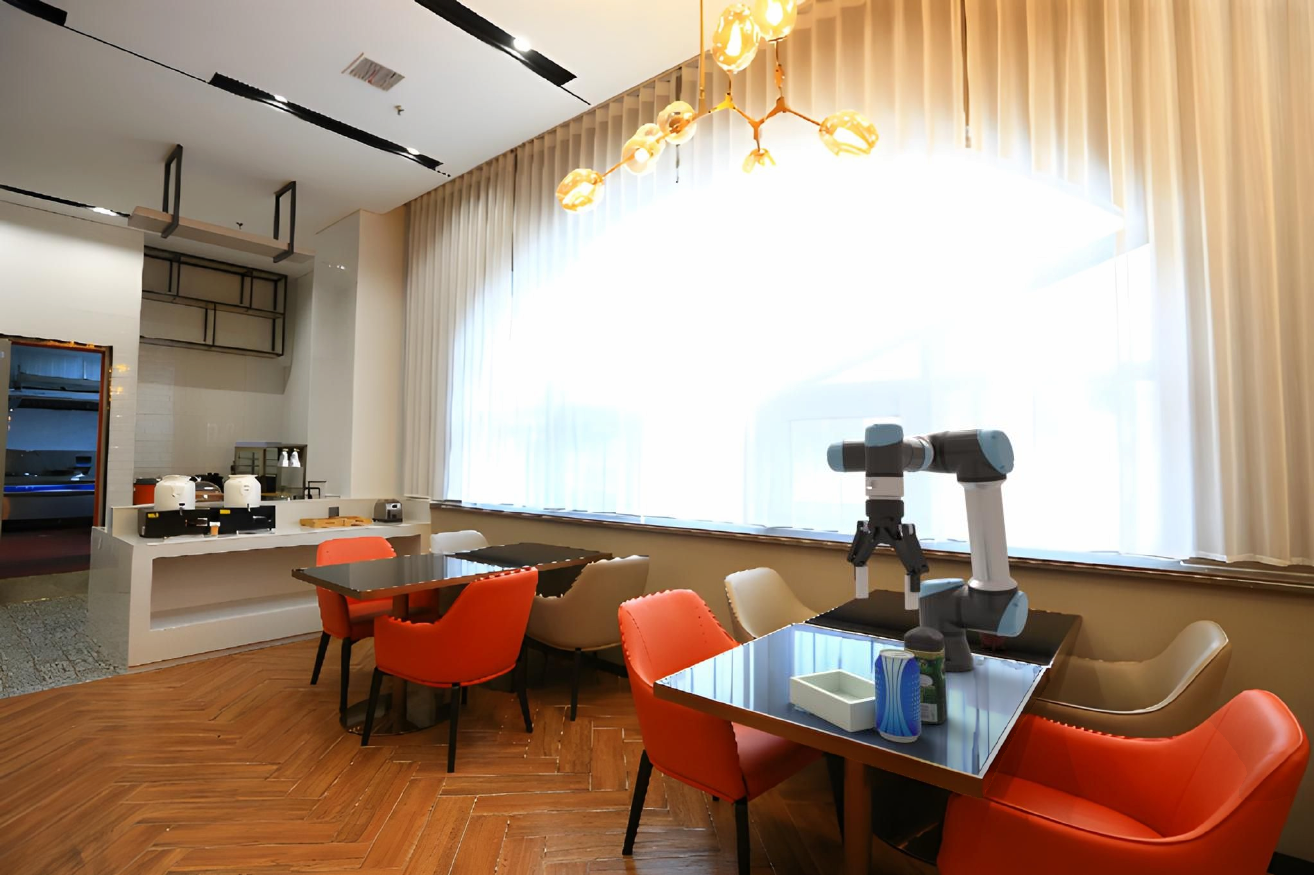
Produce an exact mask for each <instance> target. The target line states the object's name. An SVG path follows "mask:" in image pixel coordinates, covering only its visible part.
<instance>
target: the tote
mask: <svg viewBox="0 0 1314 875" xmlns="http://www.w3.org/2000/svg"><path fill="white" fill-rule="evenodd" d="M789 703H791V704H793V705H795V706H797V707H799V708H801V709H803V710H806V712H809V713H811V714H813V715H815V716H817V717H819V718H821V719H823V720H825V721H827V722H829V723H831V724H832V725H835V726H837V727H839V728H841V729H843V730H845V731H847V732H849V733H853V732H854V733H855V732H857V731H862V730H867V729H871V728H876V710H875V681H873V680H870V679H868V678H864V677H862V676H859V675H858V674H857V675H856V674H854V673H852V672H849V671H846V670H844V669H841V668H839V669H832V670H827V671H820V672H815V673H807V674H803V675H796V676H790V677H789Z"/></svg>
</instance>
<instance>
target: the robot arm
mask: <svg viewBox="0 0 1314 875" xmlns="http://www.w3.org/2000/svg"><path fill="white" fill-rule="evenodd" d="M903 429H904V428H903V425H901V424H900V423H894V422H893V423H891V422H884V423H883V422H881V423H879V422H878V423H871V424H868V425H867V426H866V427H865V431H864V438H863V439H860V438H859V439H846V440H845V439H841V440H836V441H832V442H831V443H830V444H829V445H828V447H827V450H826V462H827V464H828V467H829V468H830V469H831V470H832V471H833V472H834V473H835V472H836V473H863V472H865V474H864V475H865V476H864V477H865V479H864V480H865V486H864V487H865V496H866V497H868V499H866V500H865V501H864V502H865V507H864V508H865V516H866V517H868V519H867V520H863V519H862V520H857V521H856V531H855V534H854V536H853V539H852V542H851V545H850V549H849V551H848V554H847V557H846V561H847V562H848V563H850V564H852V566H853V569H854V570H853V571H854V574H853V575H854V581H855V598H856V599H869V567H868V564H867V562H868V561H869V559H870V558H871V556H872V554H873V553H874V551H875V550H876V548H877V546H879V545H880V544H882V545H888V546H890V548H892V549H893V550H894V552H895V554H896V555H897V557H898V559H899V561H900V563H901V564H902V566H903V567H904V569H905V570H906V574H904V609H905V610H908V611H909V610H919V611H918V612H919V627H927V628H935V629H937V631H939V632H940V633H942V634H943V636H944V650H945V672H968V671H971V670H973V669H974V668H975V660H974V656H973V655H972V651H971V649H970V646H969V643H968V639H967V631H973V632H977V633H978V632H984V633H990V634H995V635H998V636H1001V635H1002V636H1005V637H1010V638H1011V637H1012V638H1013V637H1017V636H1019V635H1020V634H1021V633H1022V631H1023V629H1024V627H1025V626H1026V623H1027V618H1028V614H1029V599H1028V595H1027V594H1026V593H1025V592H1023V591H1022V590H1019V589H1018V582H1017V581H1016V580H1015V579H1014V578H1013V577H1011V575H1010V565H1009V555H1008V546H1007V545H1008V544H1007V536H1006V527H1005V525H1006V524H1005V514H1004V505H1003V503H1004V502H1003V495H1002V494H1003V492H1002V485H1003V484H1004V483H1005V482H1007V480H1008V477H1007V476H1008V475H1007V474H1009V473H1011V472H1012V471H1013V470H1014V466H1015V464H1014V462H1015V454H1014V449H1013V445H1012V443H1011V441H1010V439H1009V436H1008V435H1007V434H1006V433H1005V432H1004V431H1003V430H1002V429H1000V428H995V427H994V428H993V427H979V428H978V427H977V428H966V429H953V430H951V429H950V430H938V431H933V432H928V433H923V434H917V435H916V434H913V435H909V436H905V434H904V430H903ZM904 472H907V473H918V472H927V473H937V474H951V475H952V474H953V475H956V482H957V483H958V484H959V485H960V486H962V487H963V489H964V490H963V491H964V499H965V501H964V502H965V509H966V519H967V520H966V521H967V529H968V530H967V531H968V540H969V550H970V560H971V569H972V570H971V571H972V577H970V579H969V580H968V581H967V584H966V582H965V580H964V579H963V578H936V579H928V580H923V581H922V582H921V576H922V574H923V575H924V574H928V573H930V567H929V564H928V561H927V560H926V557H925V554H924V552H923V549H922V547H921V544H920V541H919V538H918V537H917V533H916V532H917V530H916V525H915V524H914V523H911V522H910V523H909V522H908V523H903V522H902V519H903V518H904V517H905V501H904V499H902V498H904V496H905V485H904V484H905V481H904V477H905V476H904Z"/></svg>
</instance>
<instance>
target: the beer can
mask: <svg viewBox="0 0 1314 875" xmlns="http://www.w3.org/2000/svg"><path fill="white" fill-rule="evenodd" d="M878 653H879V654H878V656H877V657H876V659H875V661H874V682H875V710H876V727H875V728H876V729H877V731H878V732H879V734H880V736H881V737H882V738H884V739H885V740H889V741H892V742H896V743H905V744H906V743H908V744H909V743H912V742H916V741H917V739H918V737H919V736H920V735H921V734H922V723H921V706H920V668H919V665H918V663H917V662H916V660H915V659H914V654H913V653H911V652H909V651H905V650H904V649H897V648H885V649H881V650H879V651H878Z"/></svg>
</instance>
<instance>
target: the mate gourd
mask: <svg viewBox="0 0 1314 875" xmlns="http://www.w3.org/2000/svg"><path fill="white" fill-rule="evenodd" d="M978 634H979V640H980V643H981V646H980V647H981V648H982V649H991V650H992V651H994V652H996V651H997V650H1005V647H1004V646H1005V641H1006V636H1002V635H1001V636H998V635H995V634H990V633H984V632H979V633H978Z"/></svg>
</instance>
